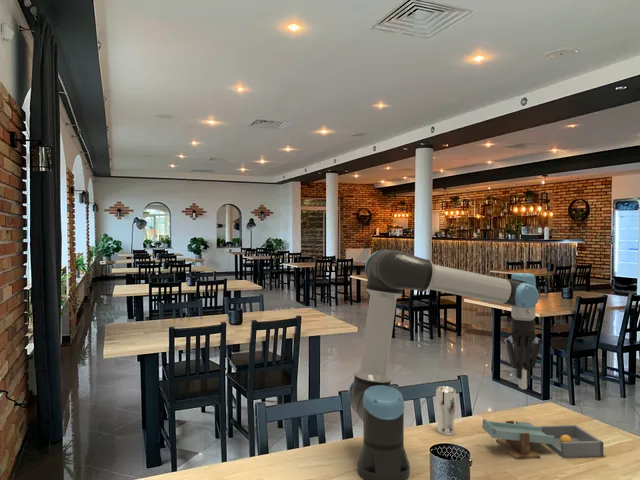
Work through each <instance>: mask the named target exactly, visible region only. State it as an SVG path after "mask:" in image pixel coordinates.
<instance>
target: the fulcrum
mask: <svg viewBox="0 0 640 480" xmlns="http://www.w3.org/2000/svg"><path fill="white" fill-rule="evenodd" d="M505 423H510V424H515V421H514V420H506V421H505ZM495 439H496V440H495V441H496V443H497V444H498V445H499V446H500V447H502V449H504V451H505V452H506V453H508V454H509V455H510V456H511V457H512V458H513V459H514V460H529V459H530V460H532V459H533V460H534V459H541V455H540V454H539V453H537V452H536V451H535V450H534V449H533V448H531V447H530V445H531V444H530V443H531V442H530V441H529V433H521V441H517V440H508V439H498V438H495Z"/></svg>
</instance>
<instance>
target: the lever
mask: <svg viewBox="0 0 640 480" xmlns="http://www.w3.org/2000/svg"><path fill="white" fill-rule="evenodd" d="M481 428H482V430H484V431H485V432H486V433H487V434H488V435H489V436H490V437H491V438H493V439H508V440H517V441H521V433H529V441H530V443H537V444H544V443H545V444H544V445H546V444H554V436H550V435H546V434H545V433H543V432H542V427H539V426H535V425H533V424H532V423H531V422H528V421H527V422H524V421H516V420H515V423H514V424H510V423H506V422H501V421H500V422H499V421H490V420H487V419H486V418H483V419H482V426H481Z"/></svg>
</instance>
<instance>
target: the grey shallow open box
mask: <svg viewBox="0 0 640 480" xmlns="http://www.w3.org/2000/svg"><path fill="white" fill-rule="evenodd" d="M538 427H542V432H543V433H545V434H546V435H550V436H554V444H545V443H543V444H544V445H545V446H546V447H548V448H549V449H551V450H552V451H554V452H555V453H556V454H557V455H559V456H560V457H561V458H563V459H576V458H579V459H580V458H600V457H601V458H602V457H604V441H603V440H600V439H599V438H597V437H596V436H594V435H593V434H591V433H589V432H588V431H586V430H585V429H584V428H581V427H580V426H579V425H577V424H563V425H559V424H558V425H557V424H556V425H539V426H538ZM562 435H568V436H570V437H571V439H572V442H561V441H560V438H561V436H562Z"/></svg>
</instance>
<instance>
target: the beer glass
mask: <svg viewBox="0 0 640 480" xmlns="http://www.w3.org/2000/svg"><path fill="white" fill-rule="evenodd" d="M435 389H436V391H435V408H436V415H437V427H436V432H437V433H439V434H440V435H444V436H453V435H454V434H455V433H456V432H455V426H454V425H455V424H454V419H455V414H456V409H457V392H456V389H455V388H454V387H451V386H445V385H444V386H443V385H442V386H437V387H436V388H435Z"/></svg>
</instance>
